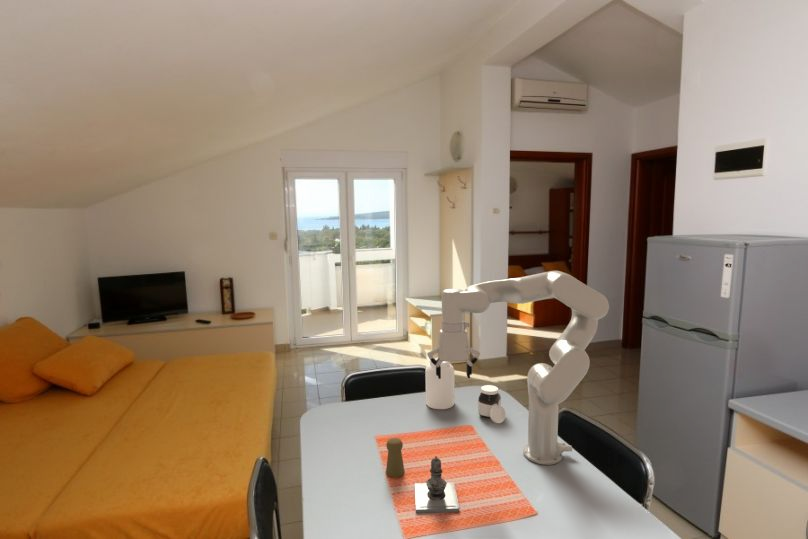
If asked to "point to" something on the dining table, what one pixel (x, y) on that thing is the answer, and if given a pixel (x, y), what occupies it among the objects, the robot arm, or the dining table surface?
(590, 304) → the robot arm
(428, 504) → the coaster
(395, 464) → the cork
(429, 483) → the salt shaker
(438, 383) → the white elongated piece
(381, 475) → the dining table surface
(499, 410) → the spread jar
